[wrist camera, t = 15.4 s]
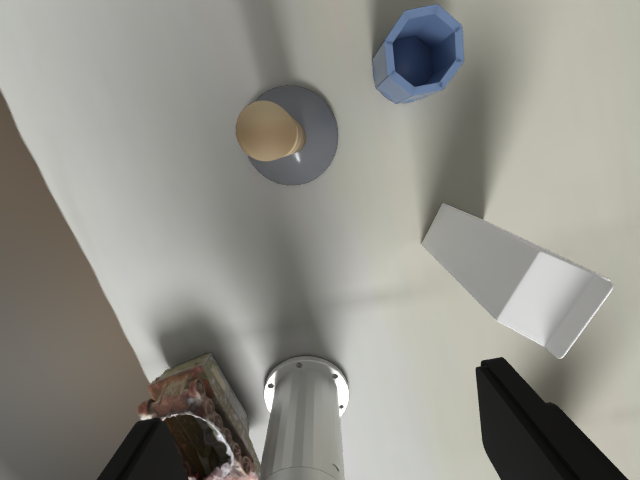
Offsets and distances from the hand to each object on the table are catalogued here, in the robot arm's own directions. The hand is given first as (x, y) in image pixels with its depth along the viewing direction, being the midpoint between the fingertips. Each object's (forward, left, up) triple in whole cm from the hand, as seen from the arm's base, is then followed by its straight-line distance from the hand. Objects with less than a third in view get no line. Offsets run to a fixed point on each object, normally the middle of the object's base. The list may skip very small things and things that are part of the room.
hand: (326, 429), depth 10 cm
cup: (+14, -12, -33) cm, 38 cm away
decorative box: (-27, +19, -33) cm, 46 cm away
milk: (-6, -16, -33) cm, 37 cm away
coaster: (+9, +2, -33) cm, 34 cm away
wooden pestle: (+9, +2, -32) cm, 33 cm away
